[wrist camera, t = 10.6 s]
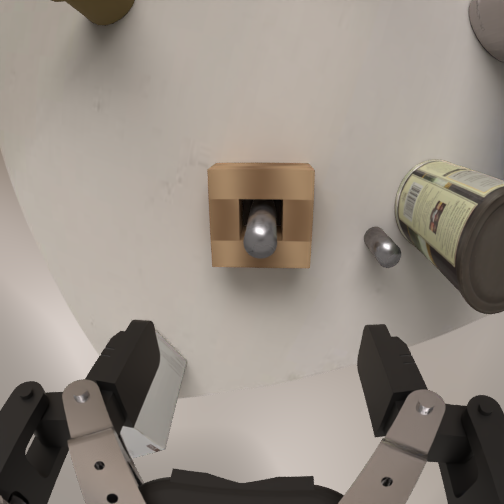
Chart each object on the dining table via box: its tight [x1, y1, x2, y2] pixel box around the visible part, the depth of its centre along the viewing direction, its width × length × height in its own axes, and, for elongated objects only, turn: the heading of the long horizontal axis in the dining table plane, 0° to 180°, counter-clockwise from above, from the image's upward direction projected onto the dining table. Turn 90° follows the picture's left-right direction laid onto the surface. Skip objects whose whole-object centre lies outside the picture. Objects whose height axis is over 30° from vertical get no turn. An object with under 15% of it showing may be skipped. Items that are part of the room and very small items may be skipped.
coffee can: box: [395, 160, 504, 314], centre depth 25 cm, size 10×10×14 cm
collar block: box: [208, 163, 315, 268], centre depth 30 cm, size 9×9×4 cm
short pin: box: [364, 227, 401, 268], centre depth 31 cm, size 2×2×5 cm
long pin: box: [243, 199, 277, 259], centre depth 28 cm, size 2×2×10 cm
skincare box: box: [120, 330, 187, 458], centre depth 34 cm, size 8×6×15 cm
